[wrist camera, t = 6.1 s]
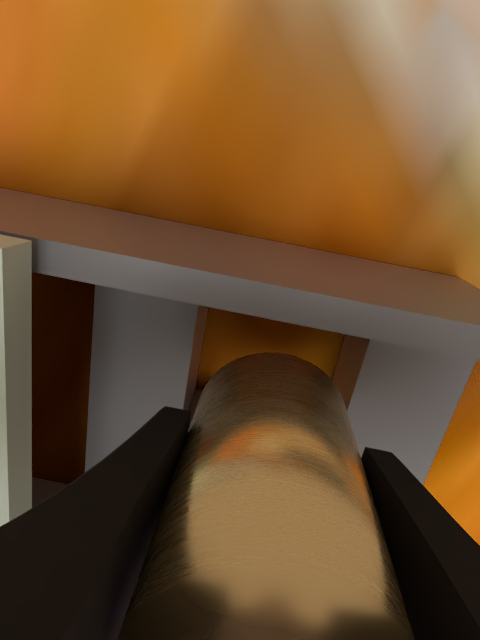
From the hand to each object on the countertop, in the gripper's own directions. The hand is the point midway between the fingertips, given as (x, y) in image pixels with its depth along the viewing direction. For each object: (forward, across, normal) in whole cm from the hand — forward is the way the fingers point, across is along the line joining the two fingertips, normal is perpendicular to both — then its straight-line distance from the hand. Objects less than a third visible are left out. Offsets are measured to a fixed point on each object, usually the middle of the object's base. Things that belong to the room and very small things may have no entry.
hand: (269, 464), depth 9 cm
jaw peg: (+2, 0, 0) cm, 2 cm away
